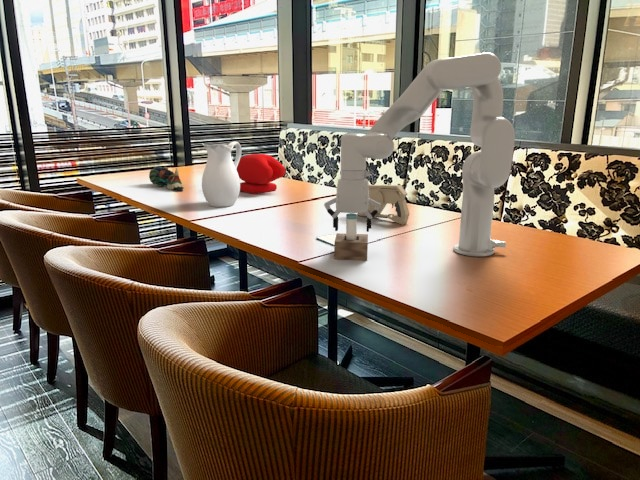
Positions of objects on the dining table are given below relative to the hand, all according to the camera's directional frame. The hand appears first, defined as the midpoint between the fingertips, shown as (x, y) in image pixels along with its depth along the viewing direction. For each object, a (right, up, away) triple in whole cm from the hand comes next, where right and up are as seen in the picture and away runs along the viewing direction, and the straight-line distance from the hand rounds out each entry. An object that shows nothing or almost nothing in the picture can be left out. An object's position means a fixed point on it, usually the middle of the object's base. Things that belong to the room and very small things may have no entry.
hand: (352, 230), depth 160 cm
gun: (+15, +5, +48) cm, 51 cm away
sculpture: (-91, +25, +116) cm, 149 cm away
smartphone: (-4, -4, +16) cm, 17 cm away
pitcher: (-53, +14, +78) cm, 95 cm away
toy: (-42, +22, +107) cm, 117 cm away
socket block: (0, -8, +2) cm, 8 cm away
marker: (0, -7, +2) cm, 7 cm away
